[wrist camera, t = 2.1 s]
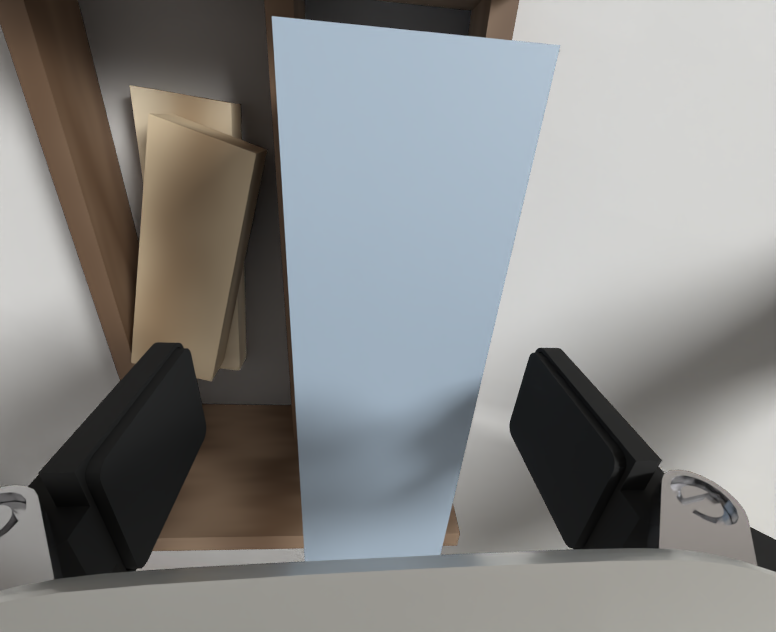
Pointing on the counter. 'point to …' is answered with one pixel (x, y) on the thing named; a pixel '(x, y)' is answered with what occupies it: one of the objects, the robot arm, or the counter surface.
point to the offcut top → (193, 237)
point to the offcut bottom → (219, 119)
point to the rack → (120, 264)
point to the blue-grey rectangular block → (396, 262)
